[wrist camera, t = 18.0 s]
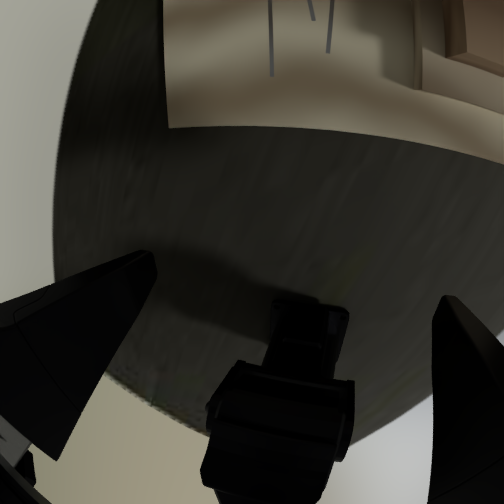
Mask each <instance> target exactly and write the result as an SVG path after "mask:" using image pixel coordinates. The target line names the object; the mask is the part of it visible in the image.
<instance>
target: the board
mask: <svg viewBox="0 0 504 504" xmlns="http://www.w3.org/2000/svg"><path fill="white" fill-rule="evenodd" d="M163 20H164V59H165V80H166V96H167V110H168V123H169V128H180V127H200V126H278V127H298V128H313V129H325V130H336V131H345V132H354V133H362V134H369V135H376V136H383V137H389V138H396V139H401V140H407V141H412V142H418V143H423V144H428V145H432V146H437V147H441V148H446V149H450V150H454V151H458V152H462V153H466V154H470V155H474V156H477V157H481V158H484V159H488V160H491V161H495V162H498V163H501V164H504V115H501V114H498V113H495V112H492V111H489V110H487V109H484V108H481V107H477V106H474V105H471V104H468V103H464V102H461V101H457V100H454V99H450V98H446V97H442V96H438V95H434V94H430V93H425V92H421V91H416V90H414V38H413V19H412V7H411V0H163Z"/></svg>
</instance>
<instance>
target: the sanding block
mask: <svg viewBox="0 0 504 504" xmlns="http://www.w3.org/2000/svg"><path fill="white" fill-rule="evenodd" d="M411 7H412V19H413V38H414V90H416V91H421V92H425V93H430V94H434V95H438V96H442V97H446V98H450V99H454V100H457V101H461V102H464V103H468V104H471V105H474V106H477V107H481V108H484V109H487V110H489V111H492V112H495V113H498V114H501V115H504V0H411Z"/></svg>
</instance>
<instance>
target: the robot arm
mask: <svg viewBox="0 0 504 504" xmlns="http://www.w3.org/2000/svg"><path fill="white" fill-rule="evenodd" d="M156 279H157V269H156V264H155V260H154V256H153V253H152V252H150V251H146V250H138V251H136V252H133V253H130V254H128V255H125V256H122V257H119V258H117V259H114V260H111V261H109V262H106V263H104V264H101V265H98V266H96V267H93V268H91V269H88V270H85V271H83V272H80V273H78V274H75V275H73V276H70V277H68V278H65V279H63V280H60V281H58V282H55V283H53V284H51V285H48V286H45V287H43V288H41V289H38V290H35V291H33V292H30V293H28V294H25V295H22V296H20V297H17V298H14V299H11V300H9V301H6V302H3V303H0V504H51V503H50V502H49V501H48V500H47V499H46V498H44V497H43V496H42V495H41V494H40V493H39V492H38V491H37V490H36V489H35V488H34V485H35V484H36V477H35V471H34V463H33V454H32V453H31V452H30V451H29V450H28V448H29V447H30V445H31V444H32V443H33V444H34V445H35V446H36V447H38V448H39V449H40V450H42V451H43V452H44V453H45V454H47V455H48V456H49V457H51V458H52V459H53V460H55V461H57V460H58V459H59V457H60V455H61V453H62V451H63V449H64V447H65V445H66V443H67V441H68V439H69V437H70V435H71V433H72V431H73V429H74V427H75V425H76V423H77V421H78V419H79V417H80V416H81V413H82V412H83V410H84V408H85V406H86V404H87V402H88V400H89V398H90V397H91V395H92V393H93V391H94V389H95V388H96V386H97V384H98V382H99V381H100V379H101V377H102V375H103V374H104V372H105V370H106V368H107V367H108V365H109V363H110V361H111V360H112V358H113V356H114V355H115V353H116V351H117V349H118V348H119V346H120V344H121V343H122V341H123V339H124V338H125V336H126V334H127V333H128V331H129V330H130V328H131V326H132V325H133V323H134V321H135V320H136V318H137V316H138V315H139V313H140V311H141V309H142V307H143V305H144V303H145V301H146V299H147V297H148V295H149V293H150V291H151V289H152V287H153V285H154V283H155V281H156ZM276 305H279V306H276ZM342 315H344V316H345V317H342ZM348 321H349V312H348V311H347V310H342V309H335V308H328V307H322V306H315V305H309V304H302V303H296V302H290V301H284V300H274V301H273V302H272V304H271V327H270V343H269V346H268V349H267V351H266V354H265V357H264V359H263V362H262V365H261V366H259V365H255V364H250V363H246V361H242V360H238V361H237V362H236V364H235V365H234V367H232V368H231V369H230V371H229V372H228V374H227V375H226V377H225V378H224V380H223V381H222V382H221V384H220V385H219V387H218V388H217V390H216V391H215V392H214V394H213V395H212V397H211V399H210V401H209V402H208V403H207V404H206V407H205V411H206V413H207V420H206V430H207V433H208V434H210V439H209V443H208V447H207V450H206V454H205V456H204V459H203V462H202V465H201V468H200V474H201V479H202V483H203V485H204V486H206V487H209V488H212V489H214V491H215V494H216V496H217V499H218V501H219V504H316V503H317V501H319V500H320V498H321V495H322V492H323V491H324V489H325V487H326V484H327V482H328V479H329V475H330V473H331V470H332V466H333V463H334V461H336V462H342V461H343V459H344V457H345V455H346V453H347V450H348V447H349V444H350V441H351V437H352V432H353V426H354V414H355V381H353V380H347V381H344V380H336V379H333V378H334V371H335V364H336V362H337V361H338V358H339V354H340V351H341V347H342V344H343V340H344V336H345V333H346V329H347V325H348ZM432 387H433V450H432V465H431V476H430V486H429V494H428V502H427V504H504V346H503V345H502V344H501V343H500V342H499V340H498V339H497V338H496V337H495V336H494V335H493V334H492V333H491V332H490V331H489V330H488V329H487V327H486V326H485V325H484V324H483V323H482V322H481V321H480V320H479V319H478V318H477V317H476V316H475V315H474V314H473V313H472V312H471V311H470V310H469V309H468V308H467V307H466V306H465V305H464V304H463V303H462V302H461V301H460V300H459V299H458V298H457V297H455V296H450V295H444V296H442V298H441V300H440V302H439V304H438V307H437V309H436V311H435V314H434V316H433V319H432Z"/></svg>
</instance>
